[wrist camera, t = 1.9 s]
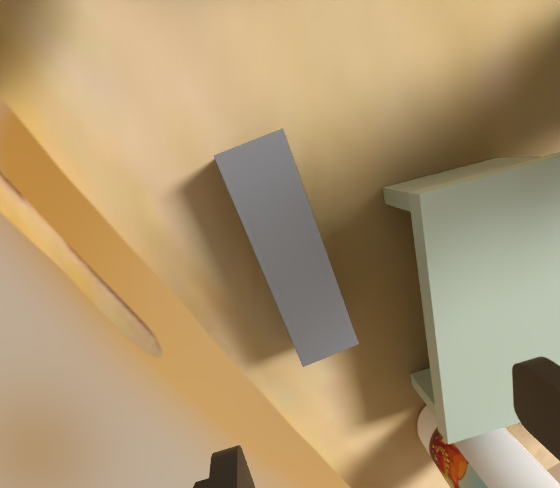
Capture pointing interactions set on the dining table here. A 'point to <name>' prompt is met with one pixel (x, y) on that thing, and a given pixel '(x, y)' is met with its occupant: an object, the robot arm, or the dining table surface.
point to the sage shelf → (484, 283)
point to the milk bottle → (482, 459)
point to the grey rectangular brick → (288, 245)
